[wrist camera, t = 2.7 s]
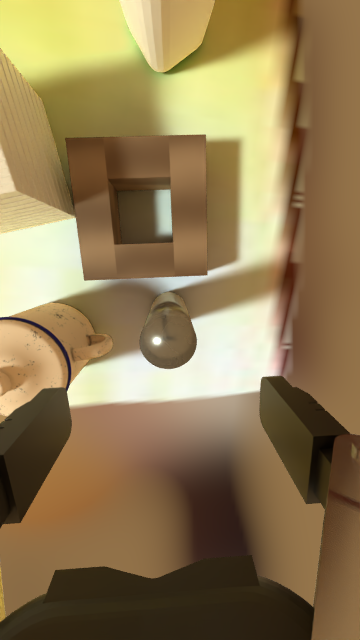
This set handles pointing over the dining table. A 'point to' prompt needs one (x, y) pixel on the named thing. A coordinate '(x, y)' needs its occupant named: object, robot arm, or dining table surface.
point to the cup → (167, 28)
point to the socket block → (139, 174)
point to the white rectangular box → (28, 158)
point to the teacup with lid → (44, 351)
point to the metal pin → (168, 333)
